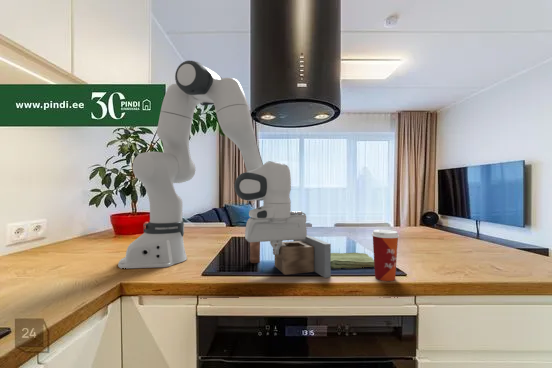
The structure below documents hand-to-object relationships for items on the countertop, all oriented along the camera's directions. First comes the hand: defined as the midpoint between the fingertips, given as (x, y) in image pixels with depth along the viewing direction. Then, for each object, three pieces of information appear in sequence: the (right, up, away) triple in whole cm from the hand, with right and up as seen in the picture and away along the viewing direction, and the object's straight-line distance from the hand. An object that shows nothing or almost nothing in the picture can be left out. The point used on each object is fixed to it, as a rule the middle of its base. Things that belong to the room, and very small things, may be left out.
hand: (276, 254), depth 94 cm
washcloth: (+26, -6, +9) cm, 28 cm away
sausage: (-8, -5, +10) cm, 14 cm away
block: (+6, -5, +2) cm, 8 cm away
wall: (+11, -5, +4) cm, 13 cm away
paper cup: (+33, -6, -7) cm, 34 cm away
